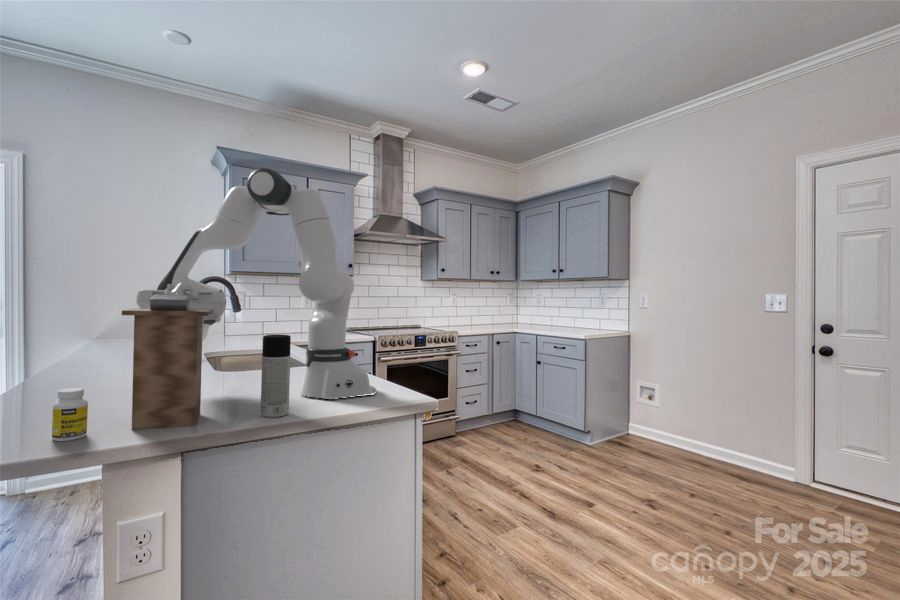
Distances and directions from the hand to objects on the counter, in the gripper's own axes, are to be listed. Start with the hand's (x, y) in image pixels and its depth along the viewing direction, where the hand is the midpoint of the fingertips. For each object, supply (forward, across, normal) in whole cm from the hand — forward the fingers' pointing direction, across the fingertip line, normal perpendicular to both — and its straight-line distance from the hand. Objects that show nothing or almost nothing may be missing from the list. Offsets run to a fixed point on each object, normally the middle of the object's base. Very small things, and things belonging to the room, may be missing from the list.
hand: (179, 286), depth 111 cm
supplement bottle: (-1, -16, +36) cm, 40 cm away
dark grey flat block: (+2, 0, +5) cm, 6 cm away
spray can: (-6, +23, +33) cm, 41 cm away
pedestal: (-6, 0, +33) cm, 33 cm away
